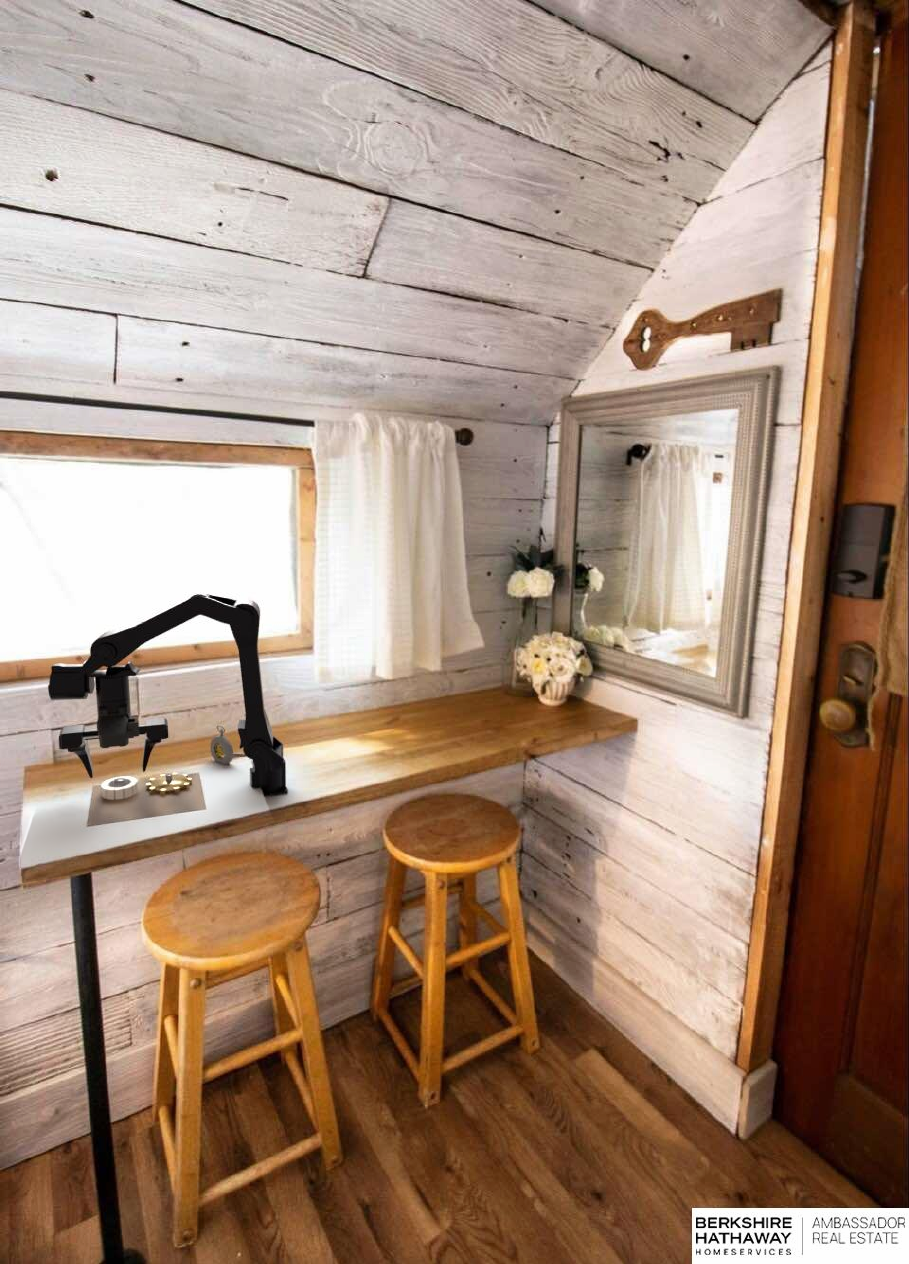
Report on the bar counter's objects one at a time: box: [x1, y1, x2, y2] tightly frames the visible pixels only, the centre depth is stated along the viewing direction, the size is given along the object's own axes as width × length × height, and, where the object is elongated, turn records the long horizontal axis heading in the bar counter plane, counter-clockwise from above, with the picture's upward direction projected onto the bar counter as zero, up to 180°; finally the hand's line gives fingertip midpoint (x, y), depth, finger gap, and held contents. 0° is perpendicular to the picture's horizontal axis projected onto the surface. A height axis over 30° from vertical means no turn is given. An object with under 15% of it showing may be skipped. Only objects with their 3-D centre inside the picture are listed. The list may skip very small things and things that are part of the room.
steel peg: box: [114, 778, 125, 787], centre depth 134 cm, size 2×2×3 cm
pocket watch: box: [209, 725, 251, 765], centre depth 152 cm, size 8×8×10 cm
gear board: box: [86, 772, 207, 827], centre depth 133 cm, size 20×18×2 cm
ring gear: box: [100, 775, 139, 800], centre depth 134 cm, size 6×6×2 cm
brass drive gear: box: [146, 772, 192, 795], centre depth 138 cm, size 8×8×2 cm
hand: (118, 774), depth 133 cm, fingers open, 9 cm apart
